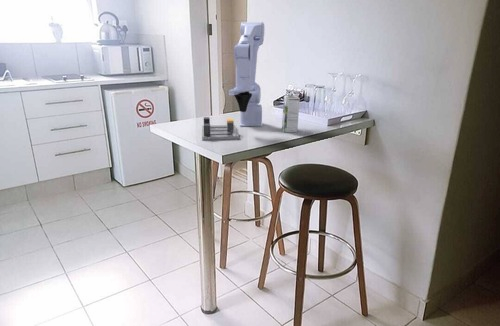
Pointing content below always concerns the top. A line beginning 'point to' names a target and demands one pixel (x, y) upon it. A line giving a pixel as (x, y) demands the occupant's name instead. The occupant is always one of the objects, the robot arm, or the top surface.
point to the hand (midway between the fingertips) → (243, 111)
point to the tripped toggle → (230, 125)
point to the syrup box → (290, 113)
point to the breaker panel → (217, 132)
